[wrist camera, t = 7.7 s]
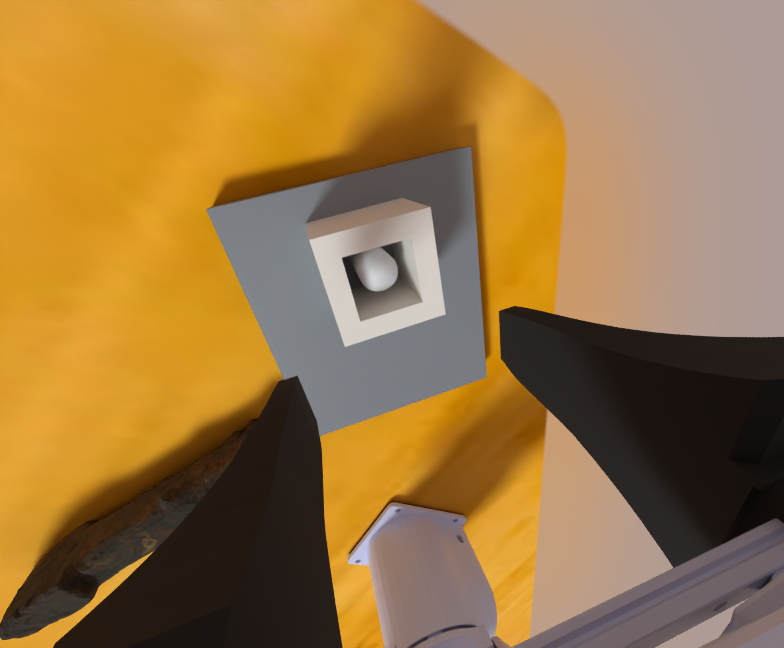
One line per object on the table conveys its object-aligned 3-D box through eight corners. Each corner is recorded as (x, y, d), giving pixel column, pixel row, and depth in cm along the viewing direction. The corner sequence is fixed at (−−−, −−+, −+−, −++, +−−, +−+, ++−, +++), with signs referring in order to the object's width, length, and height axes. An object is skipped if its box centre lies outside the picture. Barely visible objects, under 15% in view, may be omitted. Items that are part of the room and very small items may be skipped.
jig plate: (478, 368, 25) (510, 403, 21) (310, 426, 23) (314, 476, 19) (460, 147, 17) (504, 143, 14) (212, 206, 16) (187, 219, 12)
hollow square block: (417, 286, 19) (445, 314, 15) (334, 312, 18) (344, 347, 15) (401, 197, 17) (430, 206, 13) (305, 223, 16) (309, 240, 12)
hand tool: (258, 405, 21) (249, 461, 17) (292, 440, 23) (291, 498, 19) (-4, 548, 21) (-76, 641, 17) (53, 573, 23) (2, 660, 19)
